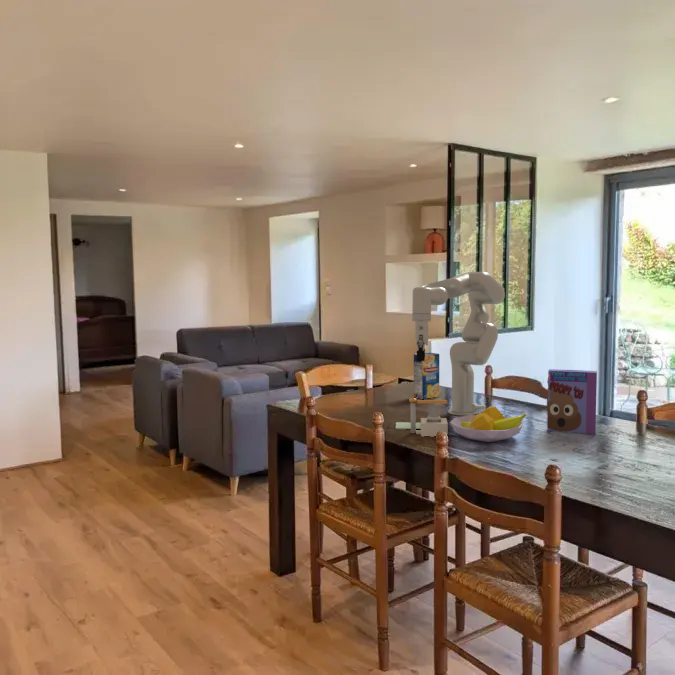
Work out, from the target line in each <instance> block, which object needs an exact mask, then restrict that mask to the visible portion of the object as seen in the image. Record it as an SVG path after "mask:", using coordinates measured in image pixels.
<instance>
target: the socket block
mask: <svg viewBox="0 0 675 675" xmlns="http://www.w3.org/2000/svg"><path fill="white" fill-rule="evenodd" d="M416 404H417V402H415V403H412V402H410V422H411V430H410V434H411V433H416V434H415V435H420V436H421V437H424V436H430V437H431V438H433V437H434V436H436V434H437V432H439V431H443V432H446V433H447V434H448V435H449V433H448V432H449V430H448V429H449V426H448V425H449V424H448V419H447V418H446V417H440V420H439V422H429V420H428V419H427V417H420V425H421V430H416V423H417V415H416V414H417V411H416V410H417V409H416V406H417V405H416ZM434 438H435V437H434Z"/></svg>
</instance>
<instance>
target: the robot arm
mask: <svg viewBox="0 0 675 675" xmlns="http://www.w3.org/2000/svg"><path fill="white" fill-rule="evenodd" d="M465 294H467V296H468V301H469V305H470V314H469V316H468V318H467V320H466V323H465V325H464V327H463V330H462V333H461V339H462V341H458V342H455V343H453V344H452V345H451V346H450V349H449V357H450V363H451V408H449V409H448V410H447V411H448V414H449V415H453V416H457V417H462V416H469V415H477V414H478V410H482V411H484V410H485V405H484V404H482V405H481V404H475V401H474V400H475V394H474V393H475V392H474V391H475V373H474V370H473V367H472V366H484V365H485V364H486V363H487V362H488V361H489V359H490V357H491V355H492V353H493V351H494V348H495V346H496V344H497V341H498V336H499V332H498V331H499V330H498V328H497V326H496V325H495V324H493V323H490V322H489V318H490V313H489V311H488V309H487V307H486V305H499V304H501V303H502V302H504V299H505V296H506V292H505V289H504V287H503V286H502V284H500V283H499V282H498V281H497V280H496V279H495V278H494V277H493V276H492V275H491V274H490V273H488V272H485V271H469V272H464V273H460V274H459V275H455V276H453V277H451V278H446V279H442V280H439V281H434V282H430V283H426V284H424V285H421V286H418V287H414V288H413V289H412V307H411V309H412V311H411V312H412V316H411V320H412V322H414V332H415V333H414V340H415V345H416V348H417V349H416V354H417V361H424V360H425V353H426V348H425V345H426V347H427V346H428V345H429V322H432V320H431V319H432V306H441V305H444V304H446V303H447V302H448V299H454V298H458V297H461V296H464V295H465Z"/></svg>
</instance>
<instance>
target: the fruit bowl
mask: <svg viewBox="0 0 675 675" xmlns="http://www.w3.org/2000/svg"><path fill="white" fill-rule="evenodd" d="M526 416H527V414H526V413H523V414H521V415H518V416H512V417H509V416H504V414H503V413H502V412H501V411H500V410H499V409H498V408H497V407H496V406H492V405H490V406H489V407H488V408H486V409H484V410H482V411H480V412H479V413H478V412H477V414H475V415H469V416H456V417H454V418H453V419H452V420H451V421H450V422H449V423H450V425H451V427H452V428H453V430H454V431H455V433H456V434H458V435H460V436H462V437H463V438H467V439H469V440H473V441H478V442H479V441H480V442H484V443H485V442H486V443H492V442H493V443H494V442H499V441H503V440H507V439H510V438H512V437H514V436H516V435H519V434H520V433H521V429H522V427H523V424H524V422H522V421H523V419H524V418H525V417H526Z"/></svg>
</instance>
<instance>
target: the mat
mask: <svg viewBox="0 0 675 675" xmlns="http://www.w3.org/2000/svg"><path fill="white" fill-rule="evenodd" d="M406 429H411V421H409V422H406V421H405V422H403V421H402V422H395V430H406ZM416 429H421V422H416Z"/></svg>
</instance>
